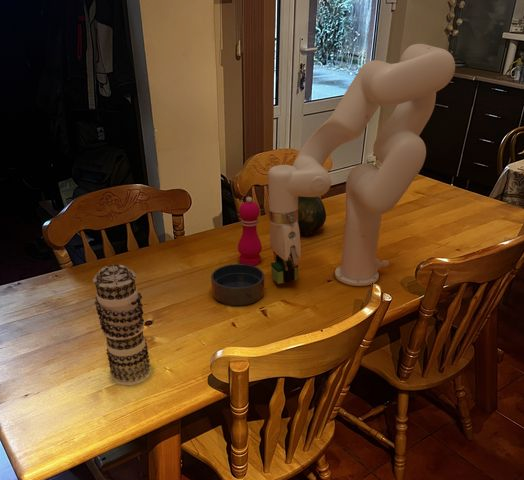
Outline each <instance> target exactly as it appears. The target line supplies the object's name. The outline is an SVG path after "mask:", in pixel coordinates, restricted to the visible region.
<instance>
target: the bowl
mask: <svg viewBox="0 0 524 480" xmlns="http://www.w3.org/2000/svg"><path fill="white" fill-rule="evenodd" d="M210 280H211V281H210V283H211V295H212V297H213V298H214V299H215V300H217V301H218V302H219V303H221V304H224V305H227V306H233V307H240V306H241V307H242V306H243V307H244V306H248V305H251V304H255V303H256V302H258V301H259V300H261V298H263V297H264V295H265V273H264V271H263V270H262V269H261V268H259V267H257V266H256V265H253V266H252V265H246V264H241V263H232V264H226V265H223V266H219V267H218V268H216V269H214V271H212V273H211V275H210Z"/></svg>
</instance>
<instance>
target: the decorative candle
mask: <svg viewBox="0 0 524 480" xmlns="http://www.w3.org/2000/svg"><path fill="white" fill-rule="evenodd" d="M136 278H137V273H135V271H134V270H132V269H130V268H128V267H127V265H123V264H109V265H106V266H104V267H101V268H100V269H99V270H98V271H97V273H96V274H95V275H94V276H93V279H92V282H93V283H94V286H95V290H96V297H95V301H94V305H95V308H96V311H97V312H96V314H97V316H98V320H99V324H100V329H101V331H102V334H103V336H104V337H105V338H106V355H107V359H108V367H109V369H110V374H111V378H112V380H113V382H115V383H116V384H119V385H121V386H134V385H138V384H141V383H143V382H144V381H146V380H147V379H148V378H149V377H150V375H151V373H152V372H151V371H152V369H151V364H150V358H149V357H150V356H149V351H148V350H149V349H148V343H147V342H146V338H145V337H146V336H145V335H144V329H145V319H144V318H143V315H144V310H143V307H144V305H143V303H142V302H141V301H142V299H143V296H142V294H141V293H140V292H138V287H137V285H136V280H135V279H136Z"/></svg>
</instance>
